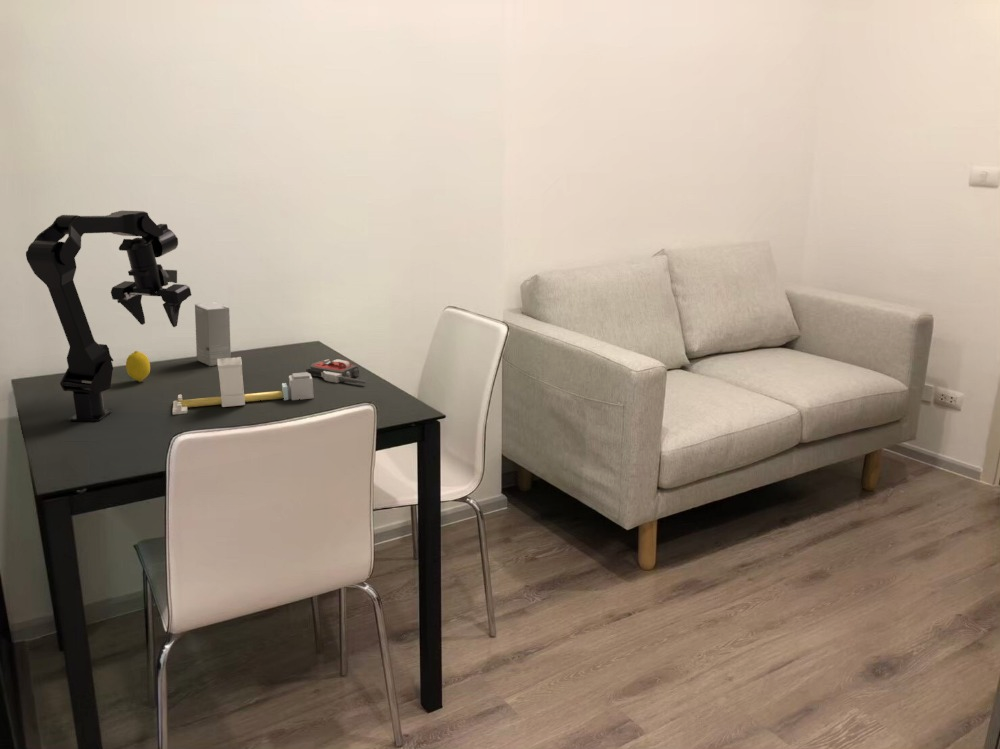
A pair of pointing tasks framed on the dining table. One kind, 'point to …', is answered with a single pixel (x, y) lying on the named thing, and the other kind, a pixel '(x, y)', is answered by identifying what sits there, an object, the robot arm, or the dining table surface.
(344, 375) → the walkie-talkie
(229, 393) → the white lidded box
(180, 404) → the wooden handled rake
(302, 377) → the grey plastic block
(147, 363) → the lemon
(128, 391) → the dining table surface
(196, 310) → the skincare box
